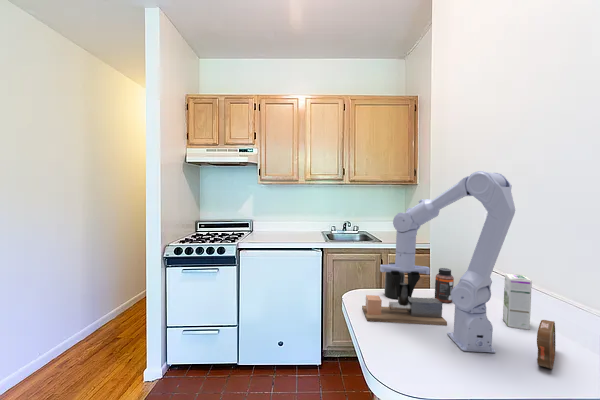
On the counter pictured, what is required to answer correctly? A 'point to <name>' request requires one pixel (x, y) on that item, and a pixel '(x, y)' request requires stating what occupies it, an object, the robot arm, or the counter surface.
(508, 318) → the syrup box
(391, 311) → the base board
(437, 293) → the supplement bottle
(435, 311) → the sleeve
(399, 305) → the slide bolt
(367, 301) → the socket
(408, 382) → the counter surface
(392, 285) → the supplement bottle
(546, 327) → the tin
